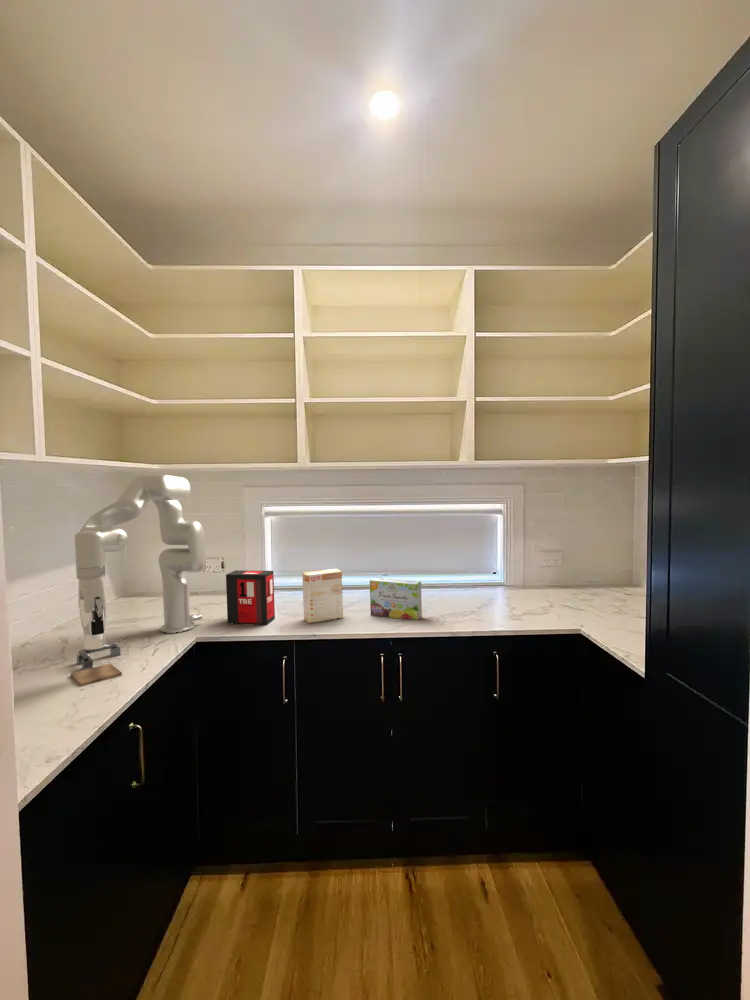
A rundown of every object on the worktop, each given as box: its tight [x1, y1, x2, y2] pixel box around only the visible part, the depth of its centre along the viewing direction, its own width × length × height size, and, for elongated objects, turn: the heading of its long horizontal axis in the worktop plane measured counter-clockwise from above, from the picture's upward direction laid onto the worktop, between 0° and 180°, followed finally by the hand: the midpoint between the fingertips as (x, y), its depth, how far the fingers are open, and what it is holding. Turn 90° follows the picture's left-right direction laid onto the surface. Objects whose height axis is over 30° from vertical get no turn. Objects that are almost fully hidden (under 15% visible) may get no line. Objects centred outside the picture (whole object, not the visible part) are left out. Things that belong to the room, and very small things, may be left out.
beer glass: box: [79, 594, 107, 650], centre depth 153 cm, size 7×7×15 cm
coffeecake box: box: [301, 568, 344, 624], centre depth 209 cm, size 15×7×20 cm, turn 115°
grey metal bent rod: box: [76, 642, 121, 670], centre depth 166 cm, size 12×8×4 cm
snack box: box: [369, 577, 423, 621], centre depth 210 cm, size 21×6×15 cm, turn 65°
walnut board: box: [70, 663, 123, 687], centre depth 154 cm, size 11×11×1 cm
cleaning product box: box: [225, 569, 276, 626], centre depth 208 cm, size 16×9×20 cm, turn 81°
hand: (94, 631), depth 153 cm, fingers closed on beer glass, 6 cm apart
